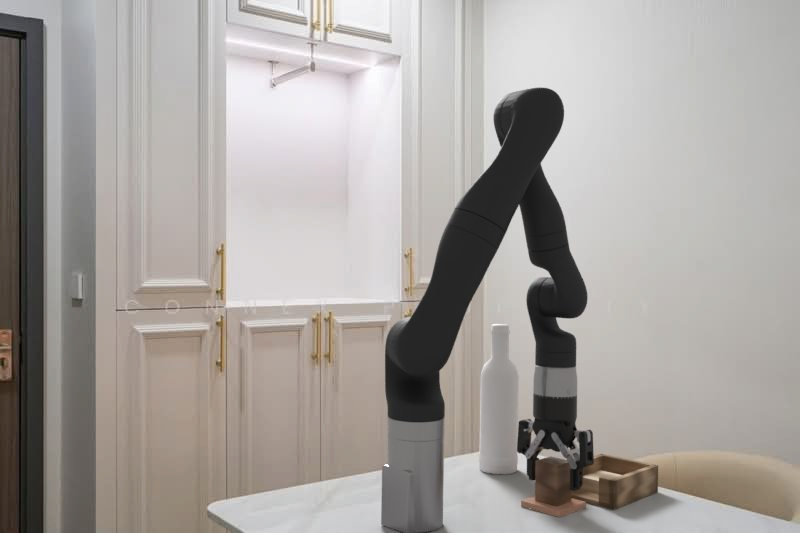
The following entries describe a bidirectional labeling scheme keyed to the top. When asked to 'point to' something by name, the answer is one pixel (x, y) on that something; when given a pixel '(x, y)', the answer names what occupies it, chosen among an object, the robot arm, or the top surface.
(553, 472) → the walnut block
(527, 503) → the terracotta tile
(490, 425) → the bottle
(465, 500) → the top surface
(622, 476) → the oak box
